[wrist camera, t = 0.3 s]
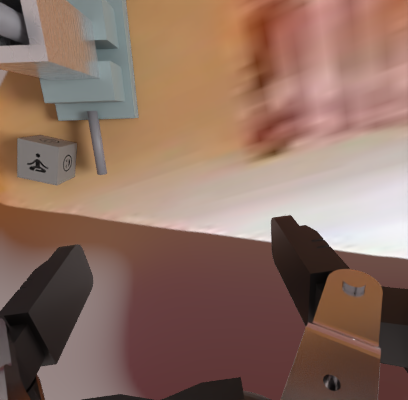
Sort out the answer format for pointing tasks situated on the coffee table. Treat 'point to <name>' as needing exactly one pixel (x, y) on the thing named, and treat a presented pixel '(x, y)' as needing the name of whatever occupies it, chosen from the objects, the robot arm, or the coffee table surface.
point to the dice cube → (46, 159)
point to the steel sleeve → (51, 42)
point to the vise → (107, 62)
